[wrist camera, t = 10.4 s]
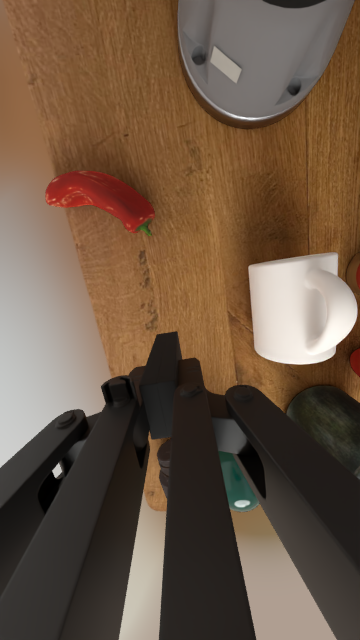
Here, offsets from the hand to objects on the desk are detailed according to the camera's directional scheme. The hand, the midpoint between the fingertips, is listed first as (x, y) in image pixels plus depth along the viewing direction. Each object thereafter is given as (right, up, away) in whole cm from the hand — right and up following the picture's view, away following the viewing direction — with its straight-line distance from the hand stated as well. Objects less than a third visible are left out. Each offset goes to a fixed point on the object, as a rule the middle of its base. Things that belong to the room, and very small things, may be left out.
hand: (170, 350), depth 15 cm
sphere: (+9, -18, +18) cm, 27 cm away
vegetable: (-2, +13, +8) cm, 15 cm away
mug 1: (+13, +5, +12) cm, 19 cm away
